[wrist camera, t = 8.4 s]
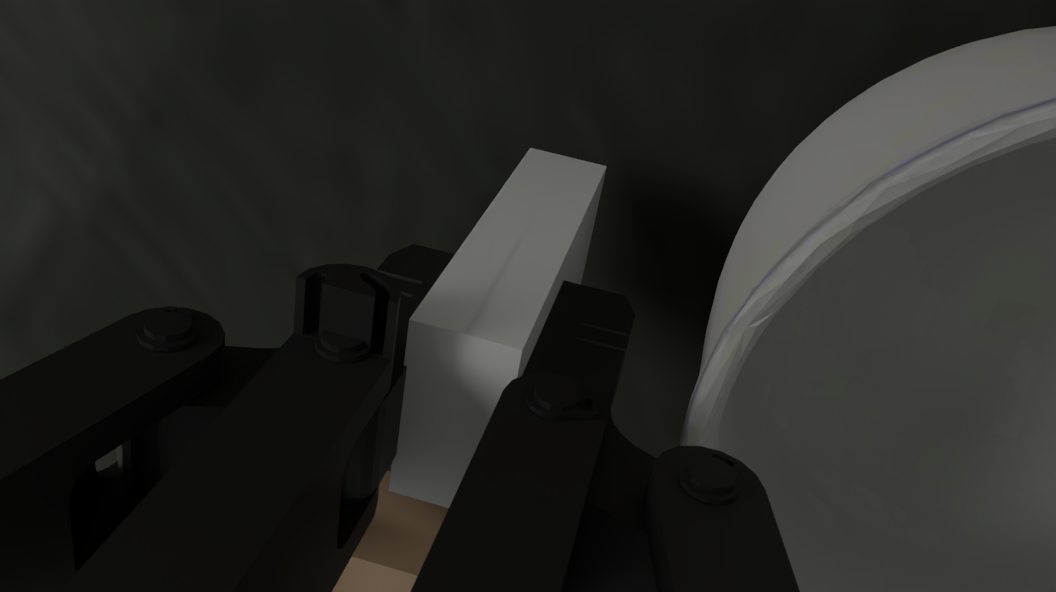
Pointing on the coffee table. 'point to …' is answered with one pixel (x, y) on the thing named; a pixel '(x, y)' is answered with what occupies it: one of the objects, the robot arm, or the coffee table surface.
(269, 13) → the coffee table surface
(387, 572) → the slot rails
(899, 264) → the teacup
